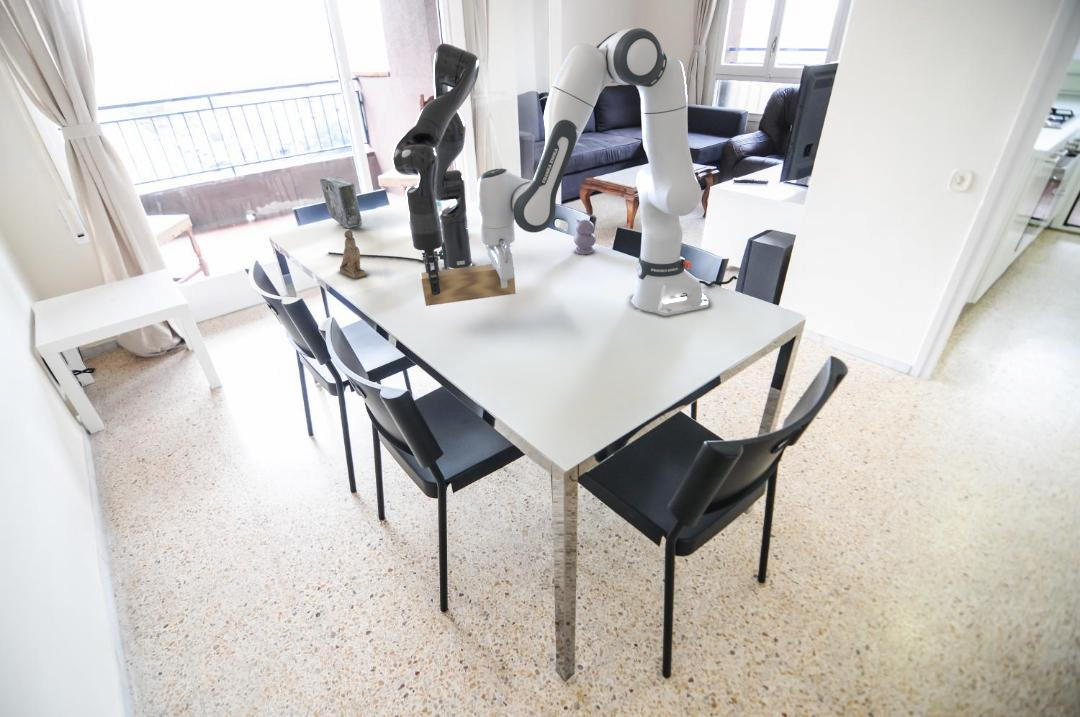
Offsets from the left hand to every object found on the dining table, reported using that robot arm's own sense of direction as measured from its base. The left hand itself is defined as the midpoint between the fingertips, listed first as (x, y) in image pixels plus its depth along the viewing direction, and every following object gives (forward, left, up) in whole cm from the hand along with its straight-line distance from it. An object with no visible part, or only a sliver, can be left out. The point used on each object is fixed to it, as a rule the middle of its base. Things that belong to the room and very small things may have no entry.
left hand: (435, 290), depth 135 cm
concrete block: (-87, +85, -11) cm, 122 cm away
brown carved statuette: (-49, +32, -11) cm, 60 cm away
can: (-42, +89, -11) cm, 99 cm away
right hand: (+16, +9, -1) cm, 18 cm away
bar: (+8, +5, -3) cm, 10 cm away
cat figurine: (+28, +68, -11) cm, 75 cm away
